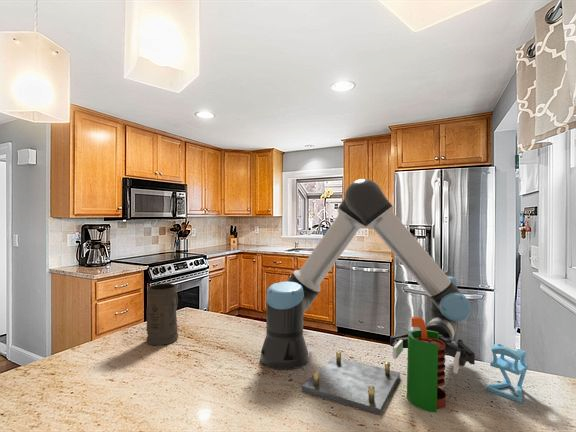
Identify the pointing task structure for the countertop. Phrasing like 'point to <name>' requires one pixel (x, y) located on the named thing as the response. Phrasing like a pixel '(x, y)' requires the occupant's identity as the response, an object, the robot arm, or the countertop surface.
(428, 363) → the motor
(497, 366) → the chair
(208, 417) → the countertop surface
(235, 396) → the countertop surface
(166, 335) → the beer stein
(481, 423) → the countertop surface
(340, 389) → the plate
